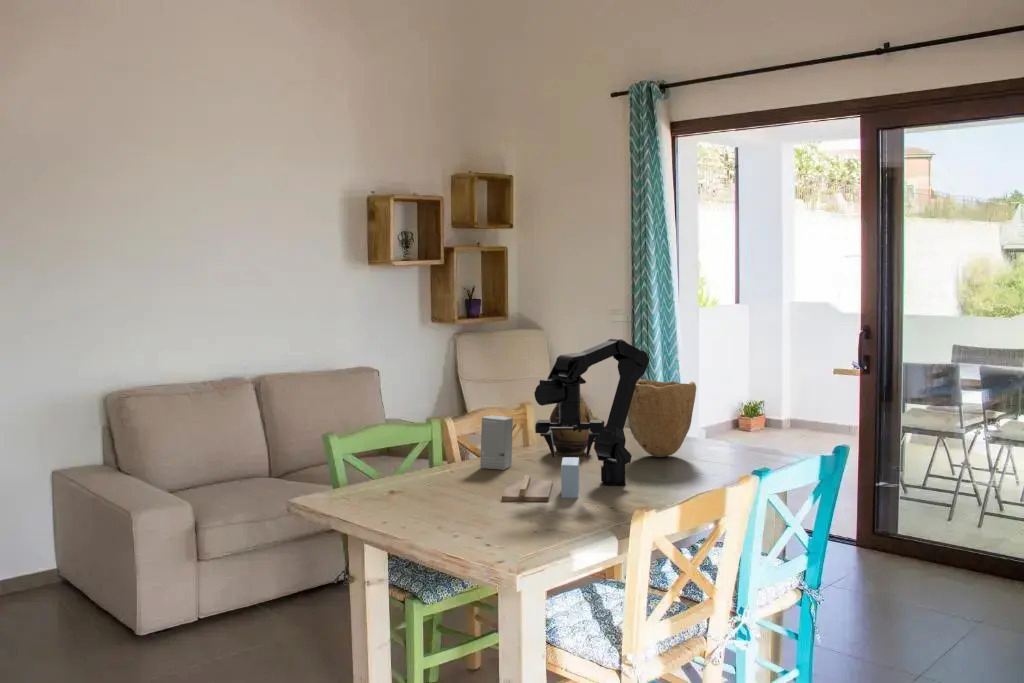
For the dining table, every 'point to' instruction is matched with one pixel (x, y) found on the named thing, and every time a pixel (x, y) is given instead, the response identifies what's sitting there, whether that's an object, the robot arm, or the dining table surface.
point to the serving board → (527, 490)
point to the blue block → (570, 477)
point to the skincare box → (496, 442)
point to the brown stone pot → (661, 415)
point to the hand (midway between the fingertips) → (570, 457)
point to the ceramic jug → (572, 433)
